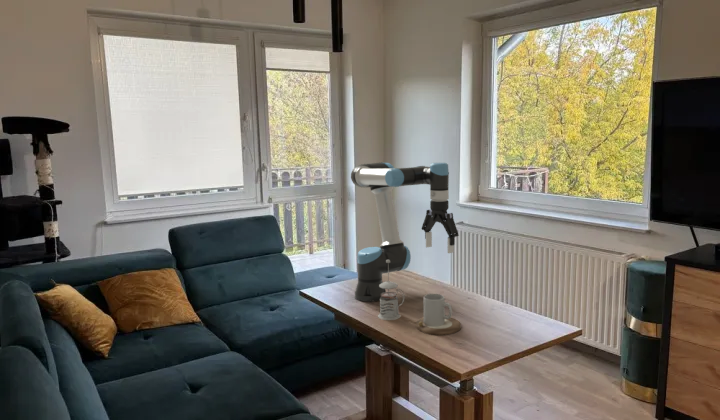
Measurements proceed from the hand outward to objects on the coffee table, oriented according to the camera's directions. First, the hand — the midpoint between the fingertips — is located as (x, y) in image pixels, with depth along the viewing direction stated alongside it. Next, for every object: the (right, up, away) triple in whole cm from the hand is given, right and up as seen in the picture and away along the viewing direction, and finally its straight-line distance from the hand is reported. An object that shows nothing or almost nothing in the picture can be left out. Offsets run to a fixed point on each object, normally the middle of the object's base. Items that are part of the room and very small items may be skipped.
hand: (439, 249), depth 221 cm
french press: (-20, -29, +4) cm, 36 cm away
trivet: (-2, -30, -9) cm, 32 cm away
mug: (-2, -29, -9) cm, 31 cm away
